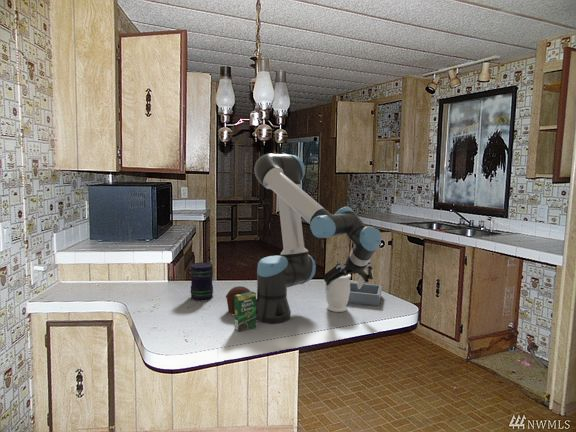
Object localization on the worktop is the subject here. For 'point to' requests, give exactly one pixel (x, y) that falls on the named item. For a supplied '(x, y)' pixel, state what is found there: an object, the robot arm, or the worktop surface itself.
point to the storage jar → (201, 281)
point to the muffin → (231, 296)
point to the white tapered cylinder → (338, 294)
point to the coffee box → (245, 311)
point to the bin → (365, 294)
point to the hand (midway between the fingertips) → (342, 286)
